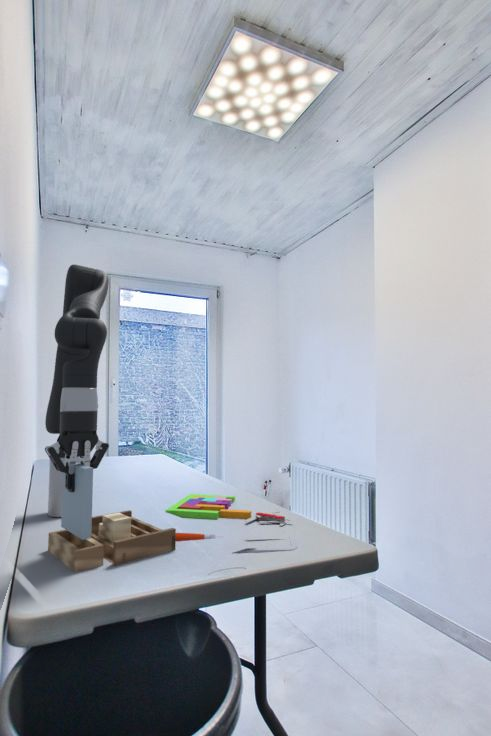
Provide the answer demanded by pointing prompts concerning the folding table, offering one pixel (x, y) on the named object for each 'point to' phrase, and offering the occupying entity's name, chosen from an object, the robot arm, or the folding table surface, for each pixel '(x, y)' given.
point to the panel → (78, 503)
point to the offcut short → (116, 521)
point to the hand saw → (249, 550)
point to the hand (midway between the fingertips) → (76, 490)
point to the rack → (135, 541)
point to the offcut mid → (114, 533)
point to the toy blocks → (207, 507)
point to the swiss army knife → (269, 518)
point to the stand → (75, 550)
